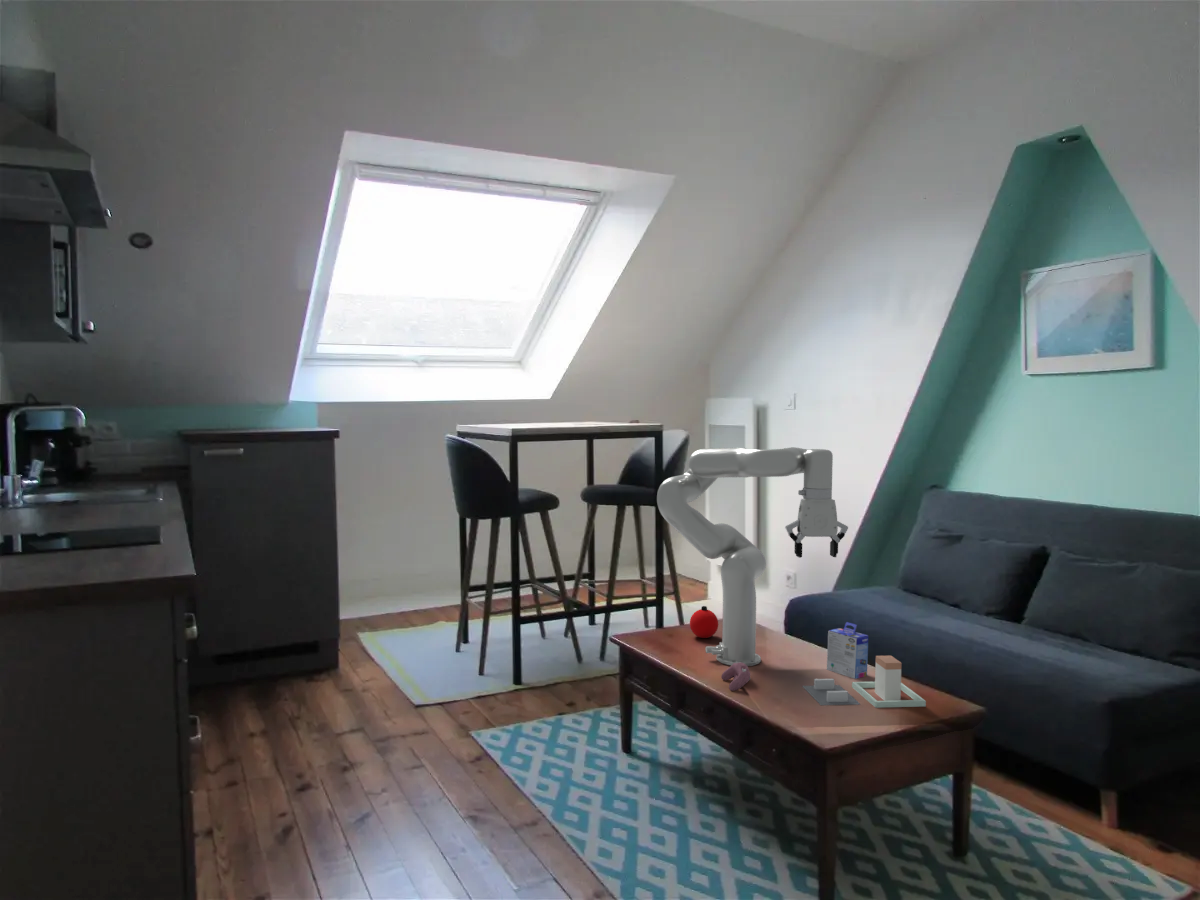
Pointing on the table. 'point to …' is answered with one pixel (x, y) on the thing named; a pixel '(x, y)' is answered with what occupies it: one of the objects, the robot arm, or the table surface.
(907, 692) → the tray
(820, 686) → the block
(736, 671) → the video game controller
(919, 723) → the table surface
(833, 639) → the ink cartridge box
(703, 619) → the ornament
